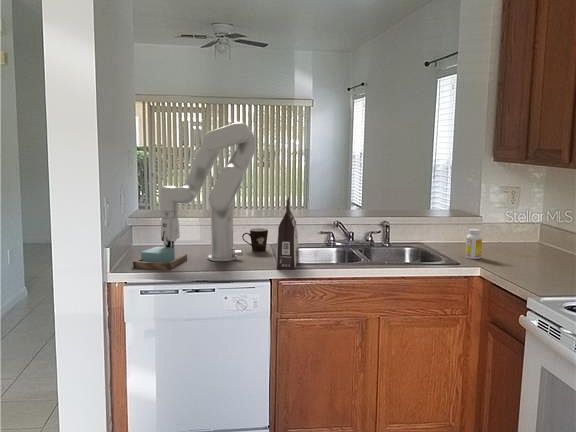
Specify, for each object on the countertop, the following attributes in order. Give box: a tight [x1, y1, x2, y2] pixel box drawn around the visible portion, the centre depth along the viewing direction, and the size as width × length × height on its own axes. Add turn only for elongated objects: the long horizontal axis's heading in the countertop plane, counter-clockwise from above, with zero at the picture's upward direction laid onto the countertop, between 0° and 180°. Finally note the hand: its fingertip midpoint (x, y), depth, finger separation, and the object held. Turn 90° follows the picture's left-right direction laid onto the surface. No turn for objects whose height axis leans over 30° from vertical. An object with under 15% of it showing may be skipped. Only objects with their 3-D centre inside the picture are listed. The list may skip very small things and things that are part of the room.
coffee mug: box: [241, 227, 269, 253], centre depth 247 cm, size 12×9×10 cm
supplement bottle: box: [465, 228, 483, 260], centre depth 234 cm, size 7×7×13 cm
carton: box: [140, 246, 176, 263], centre depth 221 cm, size 8×12×6 cm
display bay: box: [132, 253, 188, 271], centre depth 219 cm, size 16×18×2 cm
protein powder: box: [275, 196, 299, 270], centre depth 218 cm, size 16×9×28 cm, turn 177°
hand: (170, 255), depth 229 cm, fingers closed
